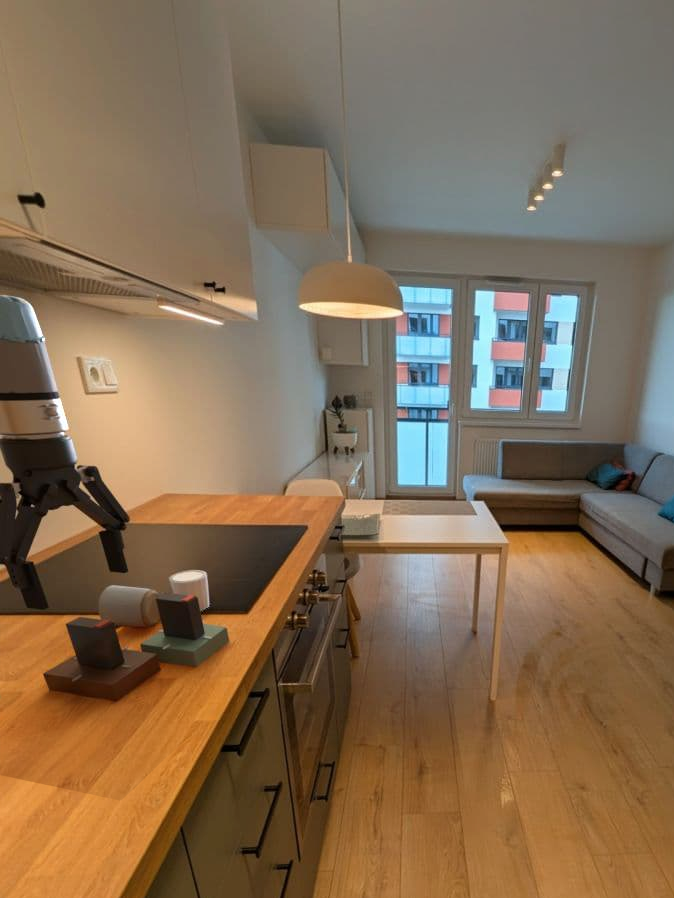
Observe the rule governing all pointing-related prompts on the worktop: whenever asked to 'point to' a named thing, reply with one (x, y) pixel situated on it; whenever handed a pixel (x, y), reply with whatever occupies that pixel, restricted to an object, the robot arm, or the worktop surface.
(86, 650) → the red-tabbed dark slab
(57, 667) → the dark brown base plate
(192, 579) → the white cylinder
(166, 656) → the green square base
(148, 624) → the grey lying cylinder
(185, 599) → the dark upright block
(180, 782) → the worktop surface
